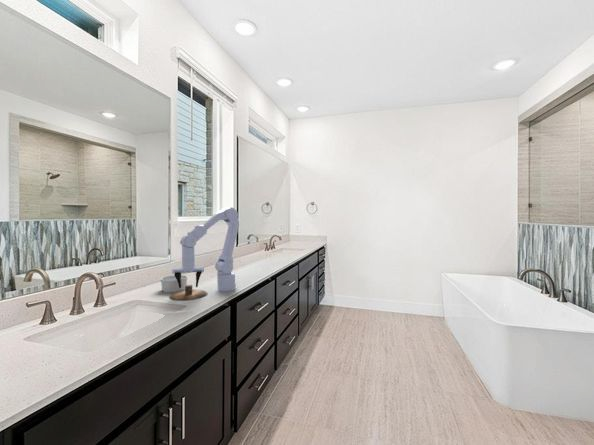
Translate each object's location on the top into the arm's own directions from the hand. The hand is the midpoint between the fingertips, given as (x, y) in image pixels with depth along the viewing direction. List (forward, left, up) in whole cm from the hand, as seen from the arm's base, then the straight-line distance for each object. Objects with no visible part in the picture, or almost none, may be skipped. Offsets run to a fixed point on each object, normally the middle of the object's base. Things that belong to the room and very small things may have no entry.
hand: (188, 287), depth 140 cm
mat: (0, 0, -5) cm, 5 cm away
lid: (0, 0, -4) cm, 4 cm away
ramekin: (+9, -14, -5) cm, 17 cm away
